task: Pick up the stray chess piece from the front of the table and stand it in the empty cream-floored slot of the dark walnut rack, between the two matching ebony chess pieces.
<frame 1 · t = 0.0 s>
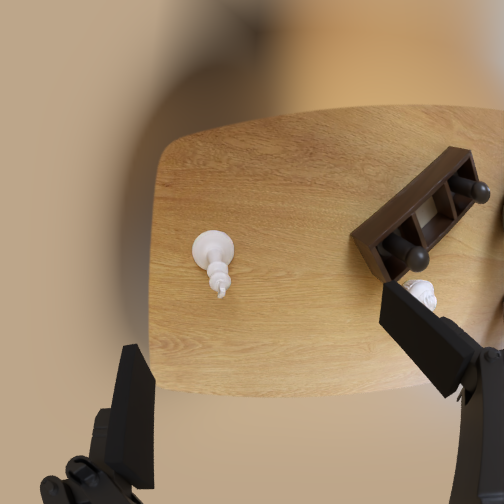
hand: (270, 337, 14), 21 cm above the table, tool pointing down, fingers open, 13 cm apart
muffin: (406, 287, 43), on the table
ebony piece 1: (446, 181, 36), resting on rack
ebony piece 2: (385, 238, 38), resting on rack
chess piece: (212, 249, 34), on the table
rack: (415, 207, 37), on the table
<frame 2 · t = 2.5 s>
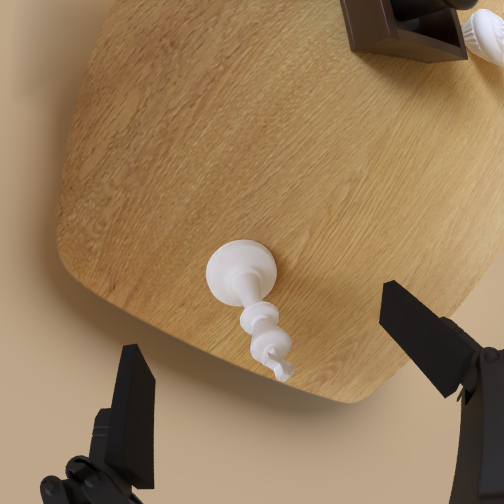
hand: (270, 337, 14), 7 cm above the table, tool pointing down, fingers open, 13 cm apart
muffin: (468, 39, 16), on the table
ebony piece 2: (388, 10, 14), resting on rack
chess piece: (240, 271, 20), on the table
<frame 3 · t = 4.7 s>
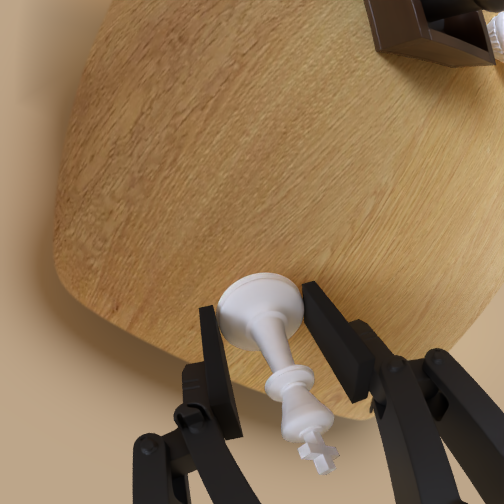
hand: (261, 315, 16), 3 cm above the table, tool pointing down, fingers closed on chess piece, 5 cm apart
muffin: (489, 43, 14), on the table
ebony piece 2: (413, 10, 12), resting on rack
chess piece: (259, 309, 16), point 2 cm above the table, touching gripper
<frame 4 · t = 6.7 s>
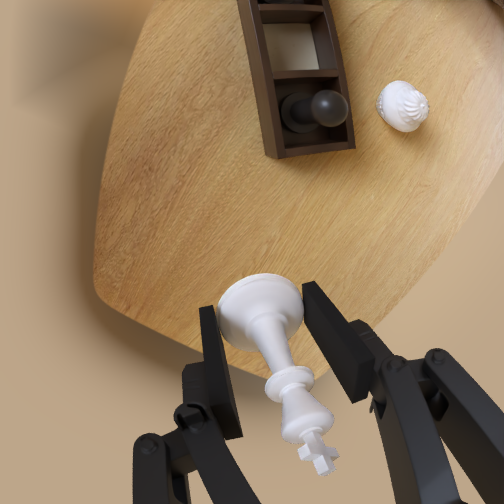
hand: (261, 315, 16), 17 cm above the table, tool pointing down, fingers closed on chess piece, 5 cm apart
muffin: (384, 106, 29), on the table
ebony piece 2: (298, 113, 27), resting on rack
chess piece: (259, 310, 16), point 16 cm above the table, touching gripper
rack: (284, 50, 25), on the table
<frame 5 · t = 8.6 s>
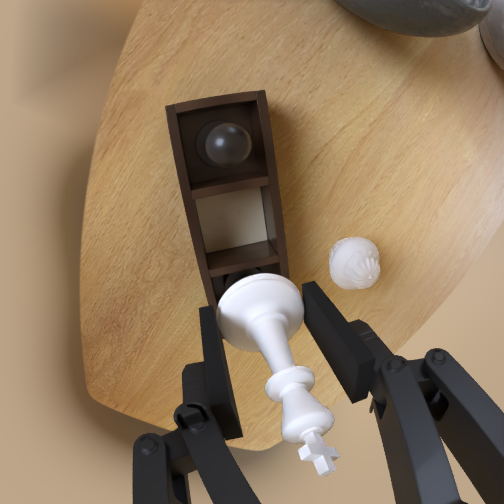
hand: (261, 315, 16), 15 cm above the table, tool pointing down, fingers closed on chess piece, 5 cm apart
muffin: (340, 251, 34), on the table
vase: (489, 41, 25), on the table
ebony piece 1: (218, 143, 26), resting on rack
ebony piece 2: (243, 280, 32), resting on rack
chess piece: (259, 310, 16), point 15 cm above the table, touching gripper
rack: (230, 214, 29), on the table
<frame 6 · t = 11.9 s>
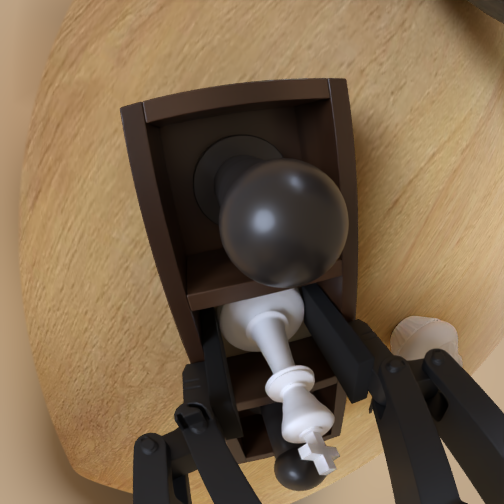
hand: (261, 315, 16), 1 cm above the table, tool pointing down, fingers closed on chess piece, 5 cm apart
muffin: (403, 329, 22), on the table
ebony piece 1: (238, 180, 14), resting on rack
ebony piece 2: (272, 385, 20), resting on rack
chess piece: (259, 310, 16), point 1 cm above the table, touching gripper
rack: (257, 301, 17), on the table
when the fingers open (4 cm above the table, at t = 13.9 s): chess piece stays where it is, resting on rack.
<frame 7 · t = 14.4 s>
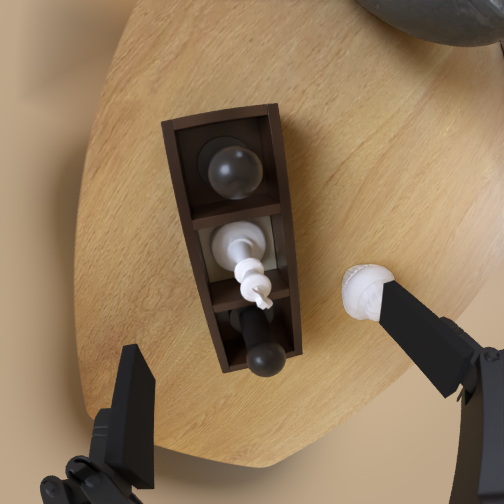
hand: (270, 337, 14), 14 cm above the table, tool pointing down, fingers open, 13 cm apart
muffin: (353, 277, 31), on the table
ebony piece 1: (223, 162, 23), resting on rack
ebony piece 2: (249, 310, 29), resting on rack
chess piece: (237, 243, 26), point 1 cm above the table, touching rack
rack: (236, 241, 27), on the table
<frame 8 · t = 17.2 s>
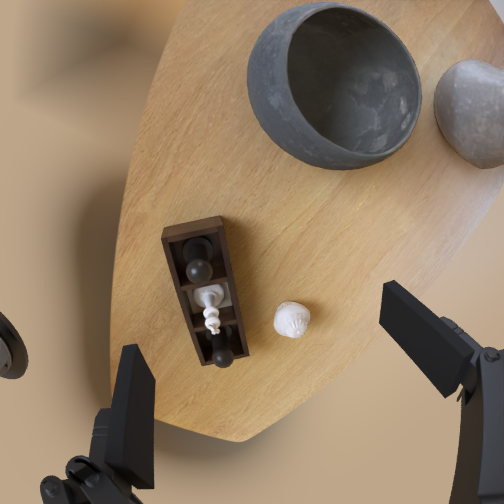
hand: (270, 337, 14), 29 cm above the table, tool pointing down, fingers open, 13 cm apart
muffin: (285, 308, 49), on the table
vase: (445, 110, 41), on the table
bowl: (306, 93, 36), on the table
ebony piece 1: (197, 249, 41), resting on rack
ebony piece 2: (217, 328, 47), resting on rack
chess piece: (208, 292, 44), point 1 cm above the table, touching rack
rack: (207, 290, 45), on the table
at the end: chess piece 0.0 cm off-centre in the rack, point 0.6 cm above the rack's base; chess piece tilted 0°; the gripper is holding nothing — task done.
